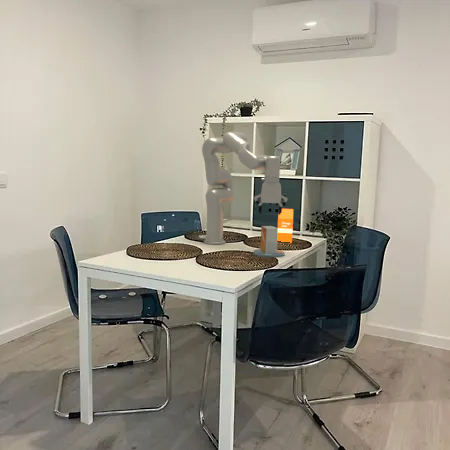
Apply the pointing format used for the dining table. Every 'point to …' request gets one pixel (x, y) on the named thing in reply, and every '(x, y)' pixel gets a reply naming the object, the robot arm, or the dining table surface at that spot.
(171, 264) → the dining table surface
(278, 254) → the dish
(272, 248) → the small box
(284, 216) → the orange juice
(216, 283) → the dining table surface
